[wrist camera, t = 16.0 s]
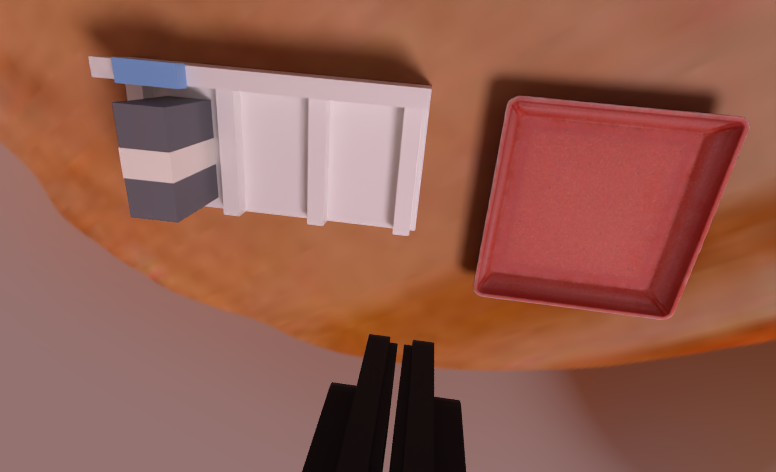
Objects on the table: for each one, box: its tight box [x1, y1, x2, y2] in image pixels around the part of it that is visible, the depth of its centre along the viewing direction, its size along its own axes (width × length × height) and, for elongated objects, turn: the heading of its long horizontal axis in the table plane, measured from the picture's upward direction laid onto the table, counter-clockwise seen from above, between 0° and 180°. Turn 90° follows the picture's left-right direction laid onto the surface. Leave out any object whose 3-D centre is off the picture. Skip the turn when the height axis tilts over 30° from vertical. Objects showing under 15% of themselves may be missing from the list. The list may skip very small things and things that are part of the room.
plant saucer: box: [473, 96, 750, 320], centre depth 37 cm, size 18×18×3 cm
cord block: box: [112, 96, 219, 222], centre depth 36 cm, size 9×4×7 cm, turn 175°
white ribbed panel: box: [88, 56, 432, 236], centre depth 36 cm, size 13×26×6 cm, turn 85°
